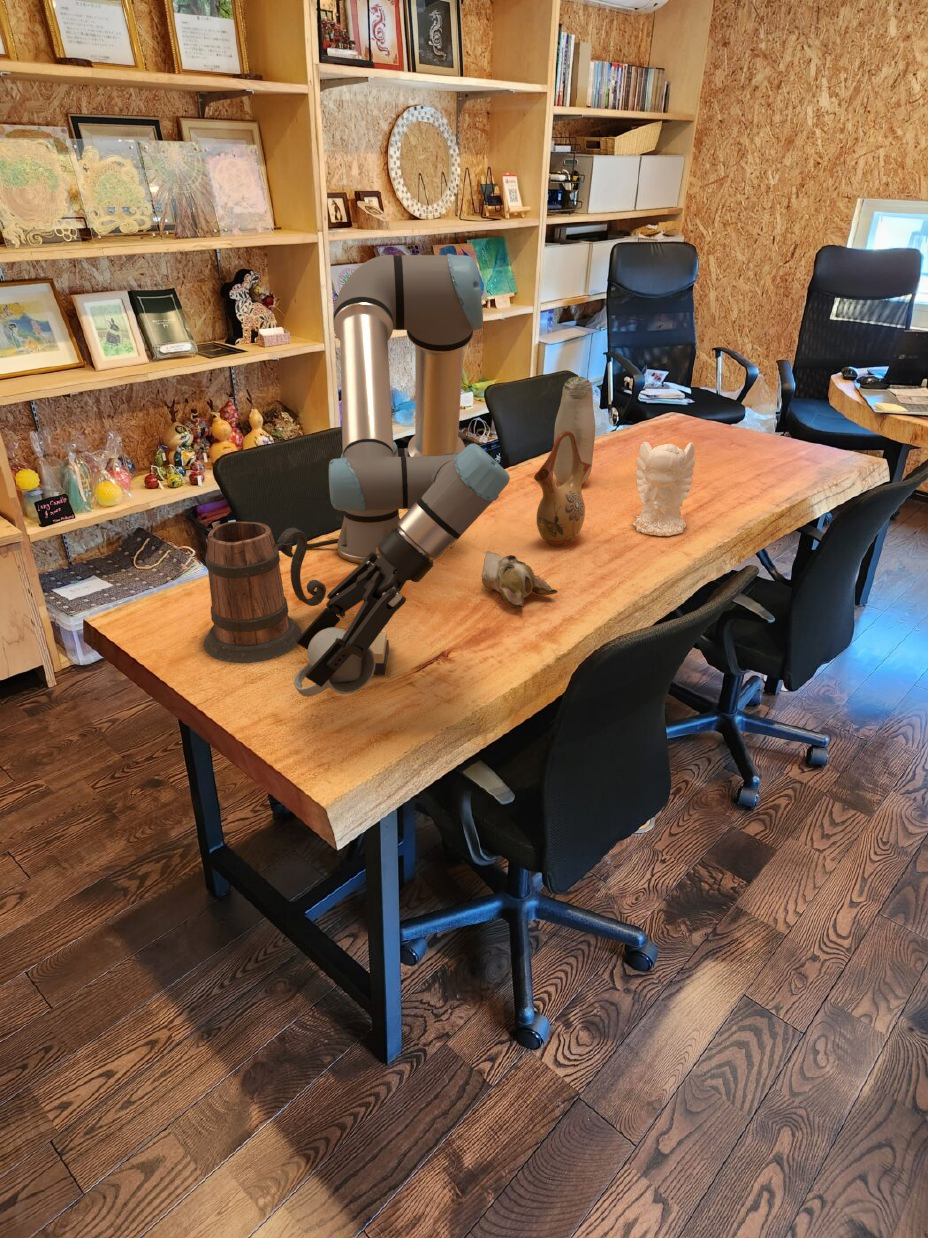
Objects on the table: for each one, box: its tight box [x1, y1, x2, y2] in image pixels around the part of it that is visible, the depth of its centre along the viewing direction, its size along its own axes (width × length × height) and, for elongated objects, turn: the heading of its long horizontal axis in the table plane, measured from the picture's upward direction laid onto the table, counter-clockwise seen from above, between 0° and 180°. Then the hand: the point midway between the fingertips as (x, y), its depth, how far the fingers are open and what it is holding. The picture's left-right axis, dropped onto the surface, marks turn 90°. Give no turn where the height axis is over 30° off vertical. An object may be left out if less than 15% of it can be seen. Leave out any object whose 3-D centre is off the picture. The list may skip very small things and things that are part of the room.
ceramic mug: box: [293, 626, 375, 698], centre depth 115 cm, size 11×8×8 cm
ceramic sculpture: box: [481, 550, 559, 609], centre depth 157 cm, size 11×9×15 cm
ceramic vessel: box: [533, 431, 591, 547], centre depth 177 cm, size 16×9×25 cm, turn 132°
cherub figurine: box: [632, 441, 696, 537], centre depth 187 cm, size 13×12×20 cm
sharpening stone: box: [370, 631, 390, 676], centre depth 136 cm, size 11×8×4 cm
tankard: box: [203, 521, 327, 664], centre depth 142 cm, size 24×17×20 cm
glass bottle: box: [553, 376, 596, 485], centre depth 211 cm, size 10×10×28 cm
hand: (308, 663), depth 115 cm, fingers closed on ceramic mug, 9 cm apart
